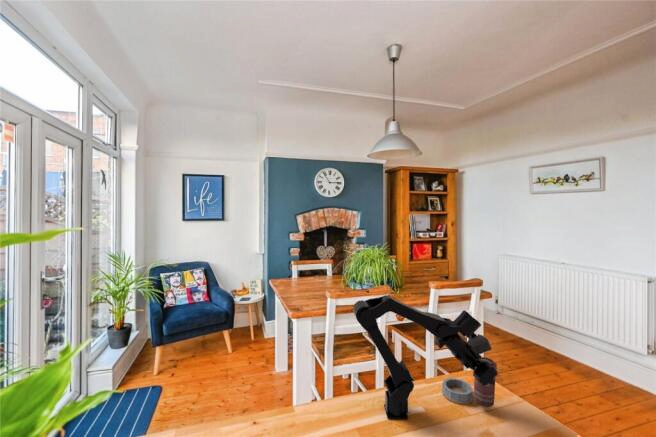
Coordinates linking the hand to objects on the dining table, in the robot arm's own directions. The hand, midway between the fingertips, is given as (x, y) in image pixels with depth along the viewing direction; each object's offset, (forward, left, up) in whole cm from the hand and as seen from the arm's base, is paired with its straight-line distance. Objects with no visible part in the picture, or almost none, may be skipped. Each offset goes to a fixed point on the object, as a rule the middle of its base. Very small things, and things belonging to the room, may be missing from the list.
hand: (488, 378), depth 99 cm
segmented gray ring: (-7, +7, -10) cm, 14 cm away
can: (-1, 0, -8) cm, 8 cm away
